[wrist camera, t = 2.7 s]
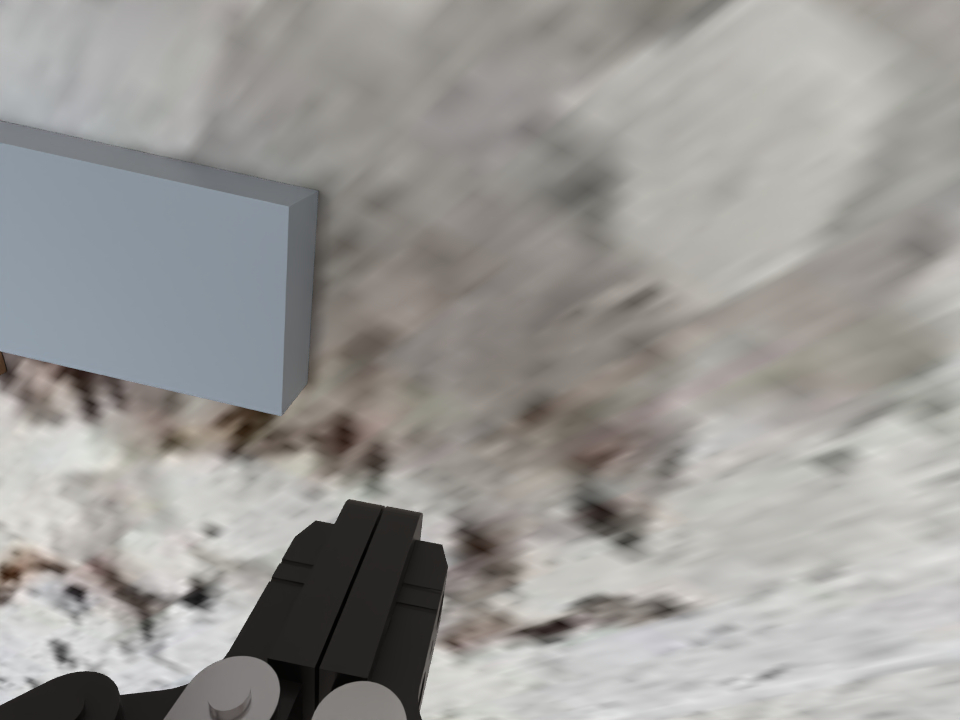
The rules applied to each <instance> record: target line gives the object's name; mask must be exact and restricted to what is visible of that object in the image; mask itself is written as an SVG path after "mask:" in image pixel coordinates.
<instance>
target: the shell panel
mask: <svg viewBox="0 0 960 720" xmlns="http://www.w3.org/2000/svg"><path fill="white" fill-rule="evenodd" d="M317 209H318V191H317V190H312V189H308V188H303V187H299V186H294V185H290V184H285V183H281V182H276V181H271V180H267V179H262V178H258V177H253V176H249V175H244V174H240V173H235V172H231V171H226V170H222V169H217V168H213V167H208V166H204V165H199V164H195V163H190V162H185V161H181V160H176V159H172V158H167V157H163V156H158V155H154V154H149V153H145V152H140V151H136V150H131V149H127V148H122V147H118V146H113V145H109V144H104V143H99V142H95V141H90V140H86V139H81V138H77V137H72V136H68V135H63V134H59V133H54V132H50V131H45V130H41V129H36V128H32V127H27V126H22V125H18V124H13V123H9V122H4V121H0V351H1V352H6V353H10V354H14V355H19V356H23V357H27V358H32V359H36V360H40V361H45V362H49V363H53V364H58V365H62V366H66V367H71V368H75V369H79V370H84V371H88V372H92V373H97V374H101V375H105V376H110V377H114V378H118V379H123V380H127V381H131V382H136V383H140V384H144V385H149V386H153V387H157V388H162V389H166V390H170V391H175V392H179V393H183V394H188V395H192V396H196V397H201V398H205V399H209V400H213V401H218V402H222V403H226V404H231V405H235V406H239V407H244V408H248V409H252V410H257V411H261V412H265V413H270V414H274V415H278V416H282V415H283V414H284V412H285V411H286V410H287V409H288V407H289V406H290V405H291V404H292V402H293V401H294V400H295V398H296V397H297V396H298V395H299V393H300V392H301V391H302V390H303V388H304V387H305V386H306V385H307V383H308V365H309V348H310V331H311V313H312V296H313V278H314V261H315V244H316V226H317Z"/></svg>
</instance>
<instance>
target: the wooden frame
mask: <svg viewBox="0 0 960 720" xmlns="http://www.w3.org/2000/svg"><path fill="white" fill-rule="evenodd" d="M5 372H7V371H6V367H5V363H4V360H3V356H2V353H1V351H0V375H1V374H3V373H5Z"/></svg>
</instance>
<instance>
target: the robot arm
mask: <svg viewBox="0 0 960 720" xmlns="http://www.w3.org/2000/svg"><path fill="white" fill-rule="evenodd" d="M422 519H423V514H422V513H419V512H414V511H409V510H404V509H398V508H393V507H388V506H387V507H386V508H385V506H382V505H377V504H371V503H366V502H361V501H356V500H350V499H349V500H347V501H346V503H345V505H344V506H343V508H342V510H341V512H340V514H339V516H338V518H337V520H336V522H335V524H331V523H326V522H321V521H315V522H313V523H312V524H311V525H310V526H308V527H307V528H306V529H305V530H303V531H302V532H301V533H299V534H298V535H297V536H296V537H295V538H294V539H293V541H292V543H291V545H290V546H289V548H288V550H287V552H286V553H285V555H284V557H283V559H282V562H281V563H280V564H279V565H278V567H277V569H276V571H275V572H274V574H273V576H272V579H271V582H269V583H268V585H267V586H266V588H265V590H264V592H263V593H262V595H261V597H260V598H259V600H258V602H257V604H256V605H255V607H254V609H253V611H252V612H251V614H250V616H249V618H248V619H247V621H246V623H245V625H244V626H243V628H242V630H241V632H240V633H239V635H238V637H237V638H236V640H235V642H234V644H233V645H232V647H231V649H230V650H229V652H228V653H227V655H226V656H225V658H224V659H222V660H220V661H217V662H215V663H213V664H211V665H210V666H208V667H206V668H205V669H203V670H202V671H201V672H199V673H198V674H197V675H196V676H195V677H194V678H193V679H192V680H191V682H190V683H189V684H186V685H184V686H180V687H177V688H173V689H167V690H160V691H151V692H143V693H134V694H126V695H120V694H119V691H118V688H117V686H116V684H115V683H114V681H112V680H111V679H110V678H109V677H107V676H105V675H103V674H101V673H97V672H89V671H84V672H75V673H70V674H66V675H63V676H60V677H57V678H55V679H52V680H50V681H48V682H46V683H44V684H42V685H40V686H38V687H36V688H34V689H32V690H30V691H28V692H26V693H24V694H22V695H20V696H18V697H16V698H14V699H12V700H10V701H8V702H6V703H4V704H2V705H0V720H422V719H421V716H420V708H421V703H422V699H423V695H424V690H425V686H426V681H427V677H428V672H429V667H430V664H431V659H432V655H433V650H434V645H435V641H436V637H437V633H438V628H439V624H440V618H441V611H442V605H443V598H444V591H445V584H446V577H447V570H448V565H447V562H446V558H445V554H444V550H443V546H442V545H440V544H435V543H430V542H425V541H420V537H421V528H422Z"/></svg>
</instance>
